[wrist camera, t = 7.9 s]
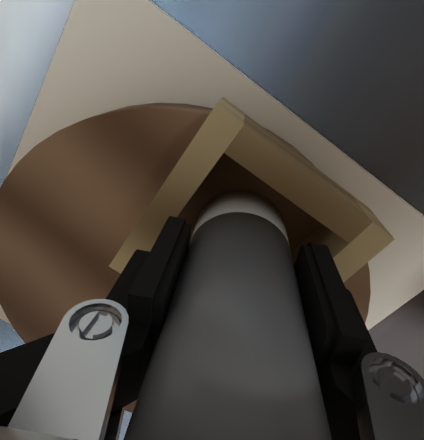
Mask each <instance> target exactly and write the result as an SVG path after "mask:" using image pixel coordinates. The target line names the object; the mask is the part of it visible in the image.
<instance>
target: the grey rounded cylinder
mask: <svg viewBox="0 0 424 440" xmlns="http://www.w3.org/2000/svg"><path fill="white" fill-rule="evenodd" d="M124 440H332V438H331V433H330V429H329V424H328V420H327V415H326V410H325V406H324V401H323V397H322V392H321V388H320V383H319V378H318V374H317V369H316V365H315V360H314V356H313V351H312V347H311V342H310V337H309V333H308V328H307V324H306V319H305V315H304V310H303V305H302V301H301V296H300V292H299V287H298V283H297V278H296V273H295V269H294V264H293V260H292V255H291V251H290V246H289V241H288V237H287V232H286V228H285V223H284V220H283V217H282V215H281V213H280V211H279V209H278V208H277V207H276V206H275V205H274V203H273V202H271V201H270V200H269V199H267V198H266V197H264V196H262V195H260V194H258V193H255V192H251V191H246V190H235V191H229V192H225V193H222V194H220V195H218V196H216V197H214V198H213V199H211V200H210V201H209V202H208V203H207V204H206V205H205V206H204V207H203V209H202V210H201V212H200V214H199V216H198V219H197V222H196V225H195V228H194V231H193V234H192V237H191V240H190V243H189V247H188V251H187V254H186V257H185V260H184V263H183V266H182V269H181V272H180V275H179V278H178V281H177V284H176V287H175V290H174V293H173V296H172V299H171V302H170V305H169V308H168V311H167V314H166V317H165V320H164V323H163V326H162V329H161V332H160V335H159V337H158V339H157V342H156V345H155V348H154V351H153V354H152V357H151V360H150V363H149V366H148V368H147V371H146V374H145V377H144V380H143V383H142V386H141V389H140V392H139V395H138V398H137V401H136V404H135V407H134V410H133V413H132V416H131V419H130V422H129V425H128V428H127V431H126V434H125V437H124Z"/></svg>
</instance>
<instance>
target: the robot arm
mask: <svg viewBox="0 0 424 440" xmlns="http://www.w3.org/2000/svg"><path fill="white" fill-rule="evenodd" d="M190 233H191V224H187V223H186V219H183V218H178V217H173V216H169V217H168V219H167V221H166V223H165V225H164V226H163V228H162V230H161V232H160V234H159V236H158V238H157V240H156V242H155V243H154V245H153V247H152V249H151V251H150V252H149V251H144V250H139V249H137V250H136V251H135V252H134V253H133V255H132V257H131V258H130V260H129V261H128V263H127V265H126V266H125V268H124V270H123V271H122V273H121V275H120V276H119V278H118V279H117V281H116V283H115V284H114V286H113V288H112V289H111V291H110V292H109V294H108V296H107V297H106V299H93V300H88V301H84V302H82V303H80V304H77V305H75V306H74V307H73V308H71V309H70V310H69V311H68V312H67V313H66V314H65V316H64V317H63V319H62V321H61V323H60V325H59V327H58V329H57V331H56V332H55V333H53V334H50V335H47V336H45V337H42V338H39V339H37V340H34V341H31V342H29V343H26V344H23V345H20V346H18V347H15V348H12V349H10V350H7V351H4V352H2V353H0V440H118V439H119V434H120V429H121V424H122V419H123V414H124V407H125V406H127V405H128V404H130V403H132V402H134V401H135V400H137V398H138V395H139V392H140V389H141V386H142V383H143V380H144V377H145V374H146V371H147V368H148V366H149V363H150V360H151V357H152V354H153V351H154V348H155V345H156V342H157V339H158V337H159V335H160V332H161V329H162V326H163V323H164V320H165V317H166V314H167V311H168V308H169V305H170V302H171V299H172V296H173V293H174V290H175V287H176V284H177V281H178V278H179V275H180V272H181V269H182V266H183V263H184V260H185V257H186V254H187V251H188V247H189V240H190ZM294 269H295V273H296V278H297V283H298V287H299V292H300V296H301V301H302V305H303V310H304V315H305V319H306V324H307V328H308V333H309V337H310V342H311V347H312V351H313V356H314V360H315V365H316V369H317V374H318V378H319V383H320V388H321V392H322V397H323V401H324V406H325V410H326V415H327V420H328V424H329V429H330V433H331V438H332V440H424V379H423V378H422V377H421V376H420V375H419V374H418V372H417V371H415V370H414V369H413V368H412V367H411V366H409V365H408V364H407V363H405V362H403V361H402V360H400V359H398V358H396V357H394V356H391V355H389V354H385V353H380V352H377V350H376V348H375V345H374V343H373V341H372V339H371V336H370V334H369V332H368V330H367V327H366V325H365V323H364V321H363V318H362V316H361V314H360V312H359V309H358V307H357V305H356V302H355V300H354V298H353V296H352V293H351V292H350V290H348V289H346V288H345V285H344V283H343V281H342V278H341V276H340V274H339V271H338V269H337V267H336V264H335V262H334V260H333V257H332V255H331V253H330V250H329V248H328V246H327V245H323V244H318V243H313V242H309V243H308V244H307V246H305V245H302V246H301V247H300V250H299V253H298V256H297V259H296V262H295V265H294Z"/></svg>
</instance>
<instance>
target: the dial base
mask: <svg viewBox="0 0 424 440" xmlns="http://www.w3.org/2000/svg"><path fill="white" fill-rule="evenodd" d="M222 97H224V98H225V99H226V100H228V101H229V102H230V103H232V104H233V105H234V106H236V107H237V108H238V109H240V110H241V111H242V112H244V113H245V114H246V115H247V116H249V117H250V118H251V119H253V120H254V121H255V122H257V123H258V124H259V125H261V126H262V127H264V128H266V129H268V130H270V131H271V132H273V133H274V134H276V135H277V136H279V137H280V138H282V139H283V140H285V141H286V142H288V143H289V144H291V145H292V146H293V147H294V148H296V149H297V150H298V151H299V152H300V153H301V154H302V155H304V156H305V157H306V158H307V159H308V160H309V161H310V162H311V163H313V165H314V166H315V167H316V168H317V169H318V170H320V171H321V172H322V173H324V174H325V175H326V176H328V177H329V178H330V179H332V180H333V181H334V182H336V183H337V184H338V185H340V186H341V187H342V188H343V189H345V190H346V191H347V192H349V193H350V194H351V195H353V196H354V197H355V198H357V199H358V200H359V201H361V202H362V203H363V204H365V205H366V206H367V207H368V208H370V210H371V211H372V212H373V213H374V214H375V216H376V217H377V218H378V219H379V221H380V222H381V223H382V224H383V225H384V227H385V228H386V229H387V230H388V232H389V233H390V234H391V235H392V236H393V238H394V239H395V240H393V241H392V242H391V243H390V244H389V245H387V246H386V247H385V248H384V249H383V250H382V251H380V252H379V253H378V254H377V255H376V256H375V257H373V258H372V259H371V260H370V261H369V262H368V266H369V270H370V290H371V294H370V302H369V310H368V316H367V319H366V322H365V325H366V327H367V330H369V329H371V328H372V327H373V326H375V325H376V324H377V323H379V322H380V321H382V320H383V319H384V318H386V317H387V316H388V315H390V314H391V313H392V312H394V311H395V310H397V309H398V308H399V307H401V306H402V305H403V304H405V303H406V302H408V301H409V300H410V299H412V298H413V297H414V296H416V295H417V294H418V293H420V292H421V291H423V290H424V215H423V214H421V213H420V212H419V211H418V210H416V209H415V208H414V207H412V206H411V205H410V204H409V203H407V202H406V201H405V200H404V199H402V198H401V197H400V196H398V195H397V194H396V193H395V192H393V191H392V190H391V189H390V188H388V187H387V186H386V185H385V184H383V183H382V182H381V181H379V180H378V179H377V178H376V177H374V176H373V175H372V174H371V173H369V172H368V171H367V170H365V169H364V168H363V167H362V166H360V165H359V164H358V163H357V162H355V161H354V160H353V159H351V158H350V157H349V156H348V155H346V154H345V153H344V152H343V151H341V150H340V149H339V148H337V147H336V146H335V145H334V144H332V143H331V142H330V141H329V140H327V139H326V138H325V137H323V136H322V135H321V134H320V133H318V132H317V131H316V130H315V129H313V128H312V127H311V126H310V125H308V124H307V123H306V122H304V121H303V120H302V119H301V118H299V117H298V116H297V115H296V114H294V113H293V112H292V111H290V110H289V109H288V108H287V107H285V106H284V105H283V104H282V103H280V102H279V101H278V100H276V99H275V98H274V97H273V96H271V95H270V94H269V93H268V92H266V91H265V90H264V89H262V88H261V87H260V86H259V85H257V84H256V83H255V82H254V81H252V80H251V79H250V78H249V77H247V76H246V75H245V74H243V73H242V72H241V71H240V70H238V69H237V68H236V67H235V66H233V65H232V64H231V63H229V62H228V61H227V60H226V59H224V58H223V57H222V56H221V55H219V54H218V53H217V52H215V51H214V50H213V49H212V48H210V47H209V46H208V45H207V44H205V43H204V42H203V41H201V40H200V39H199V38H198V37H196V36H195V35H194V34H193V33H191V32H190V31H189V30H187V29H186V28H185V27H184V26H182V25H181V24H180V23H179V22H177V21H176V20H175V19H174V18H172V17H171V16H170V15H168V14H167V13H166V12H165V11H163V10H162V9H161V8H160V7H158V6H157V5H156V4H154V3H153V2H152V1H151V0H75V1H74V4H73V6H72V9H71V11H70V14H69V16H68V19H67V22H66V24H65V27H64V29H63V32H62V35H61V37H60V40H59V42H58V45H57V48H56V50H55V53H54V55H53V58H52V60H51V63H50V66H49V68H48V71H47V73H46V76H45V79H44V81H43V84H42V86H41V89H40V92H39V94H38V97H37V99H36V102H35V104H34V107H33V110H32V112H31V115H30V117H29V120H28V123H27V125H26V128H25V130H24V133H23V136H22V138H21V141H20V143H19V146H18V148H17V151H16V154H15V156H14V159H13V161H12V164H11V167H10V169H9V172H8V174H7V176H8V175H9V173H10V172H11V171H12V169H13V168H14V167H15V165H16V164H17V163H18V162H19V161H20V160H21V159H22V158H23V157H24V156H25V155H26V154H27V153H28V152H29V151H30V150H31V149H32V148H33V147H35V146H36V145H37V144H39V143H40V142H42V141H43V140H45V139H46V138H48V137H49V136H51V135H52V134H54V133H55V132H57V131H59V130H61V129H63V128H66V127H68V126H70V125H72V124H75V123H77V122H79V121H82V120H84V119H87V118H90V117H93V116H96V115H99V114H102V113H105V112H108V111H112V110H116V109H120V108H123V107H127V106H133V105H141V104H150V103H183V104H191V105H197V106H203V107H209V108H214V107H215V105H216V104H217V103H218V101H219V100H220V99H221V98H222ZM6 178H7V177H6ZM0 319H1V320H3V321H5V322H7V323H9V324H11V323H10V321H9V320H8V318H7V317H6V315H5V313H4V311H3V309H2V307H1V305H0ZM11 325H12V324H11Z"/></svg>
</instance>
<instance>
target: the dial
mask: <svg viewBox="0 0 424 440" xmlns="http://www.w3.org/2000/svg"><path fill="white" fill-rule="evenodd" d="M235 190H246V191H251V192H255V193H258V194H260V195H262V196H264V197H266V198H267V199H269V200H270V201H271V202H273V203H274V205H275V206H276V207H277V208H278V209H279V211H280V213H281V215H282V217H283V220H284V223H285V228H286V232H287V237H288V241H289V246H290V251H291V255H292V260H293V264H294V265H295V262H296V259H297V256H298V253H299V250H300V247H301V246H302V245H305V246H307V244H308V243H309V242H313V243H318V244H323V245H327V246H328V248H329V250H330V253H331V255H332V257H333V260H334V262H335V264H336V267H337V269H338V271H339V274H340V276H341V278H342V281H343V283H344V285H345V288H346V289H348V290H350V292H351V293H352V296H353V298H354V300H355V302H356V305H357V307H358V309H359V312H360V314H361V316H362V318H363V321H364V323H365V322H366V319H367V316H368V310H369V302H370V294H371V290H370V270H369V266H368V262H369V261H370V260H371V259H372V258H373V257H375V256H376V255H377V254H378V253H379V252H380V251H382V250H383V249H384V248H385V247H386V246H387V245H389V244H390V243H391V242H392V241H393V240H395V239H394V238H393V236H392V235H391V234H390V233H389V232H388V230H387V229H386V228H385V227H384V225H383V224H382V223H381V222H380V221H379V219H378V218H377V217H376V216H375V214H374V213H373V212H372V211H371V210H370V208H368V207H367V206H366V205H365V204H363V203H362V202H361V201H359V200H358V199H357V198H355V197H354V196H353V195H351V194H350V193H349V192H347V191H346V190H345V189H343V188H342V187H341V186H340V185H338V184H337V183H336V182H334V181H333V180H332V179H330V178H329V177H328V176H326V175H325V174H324V173H322V172H321V171H320V170H318V169H317V168H316V167H315V166H314V165H313V163H311V162H310V161H309V160H308V159H307V158H306V157H305V156H304V155H302V154H301V153H300V152H299V151H298V150H297V149H296V148H294V147H293V146H292V145H291V144H289V143H288V142H286V141H285V140H283V139H282V138H280V137H279V136H277V135H276V134H274V133H273V132H271V131H270V130H268V129H266V128H264V127H262V126H261V125H259V124H258V123H257V122H255V121H254V120H253V119H251V118H250V117H249V116H247V115H246V114H245V113H244V112H242V111H241V110H240V109H238V108H237V107H236V106H234V105H233V104H232V103H230V102H229V101H228V100H226V99H225V98H224V97H222V98H221V99H220V100H219V101H218V103H217V104H216V105H215V107H214V108H209V107H203V106H197V105H191V104H183V103H150V104H141V105H133V106H127V107H123V108H120V109H116V110H112V111H108V112H105V113H102V114H99V115H96V116H93V117H90V118H87V119H84V120H82V121H79V122H77V123H75V124H72V125H70V126H68V127H66V128H63V129H61V130H59V131H57V132H55V133H54V134H52V135H51V136H49V137H48V138H46V139H45V140H43V141H42V142H40V143H39V144H37V145H36V146H35V147H33V148H32V149H31V150H30V151H29V152H28V153H27V154H26V155H25V156H24V157H23V158H22V159H21V160H20V161H19V162H18V163H17V164H16V165H15V167H14V168H13V169H12V171H11V172H10V173H9V175H8V176H7V178H6V179H5V180H4V182H3V184H2V186H1V188H0V305H1V307H2V309H3V311H4V313H5V315H6V317H7V318H8V320H9V321H10V323H11V324H12V326H13V327H14V329H15V330H16V332H17V333H18V335H19V336H20V337H21V338H22V340H23V341H24V342H25V343H29V342H31V341H34V340H37V339H39V338H42V337H45V336H47V335H50V334H53V333H55V332H56V331H57V329H58V327H59V325H60V323H61V321H62V319H63V317H64V316H65V314H66V313H67V312H68V311H69V310H70V309H71V308H73V307H74V306H75V305H77V304H80V303H82V302H84V301H88V300H93V299H106V297H107V296H108V294H109V292H110V291H111V289H112V288H113V286H114V284H115V283H116V281H117V279H118V278H119V276H120V275H121V273H122V271H123V270H124V268H125V266H126V265H127V263H128V261H129V260H130V258H131V257H132V255H133V253H134V252H135V251H136V250H137V249H139V250H144V251H149V252H150V251H151V249H152V247H153V245H154V243H155V242H156V240H157V238H158V236H159V234H160V232H161V230H162V228H163V226H164V225H165V223H166V221H167V219H168V217H169V216H173V217H178V218H183V219H186V223H187V224H191V233H190V240H191V237H192V234H193V231H194V228H195V225H196V222H197V219H198V216H199V214H200V212H201V210H202V209H203V207H204V206H205V205H206V204H207V203H208V202H209V201H210V200H211V199H213V198H214V197H216V196H218V195H220V194H222V193H225V192H229V191H235ZM190 240H189V243H190ZM136 401H137V400H135V401H134V402H132V403H130V404H128V405H127V406H125V407H124V410H126V411H129V412H132V413H133V410H134V407H135V404H136Z"/></svg>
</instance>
